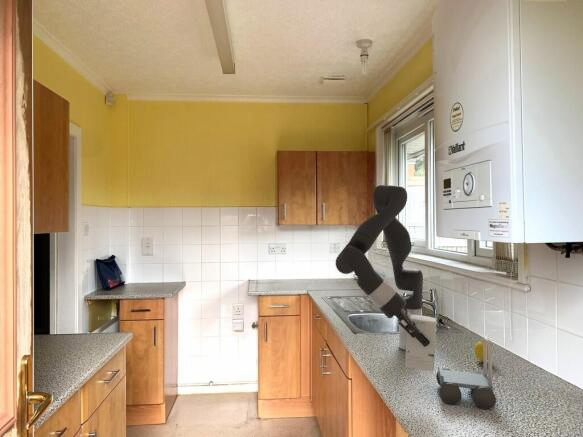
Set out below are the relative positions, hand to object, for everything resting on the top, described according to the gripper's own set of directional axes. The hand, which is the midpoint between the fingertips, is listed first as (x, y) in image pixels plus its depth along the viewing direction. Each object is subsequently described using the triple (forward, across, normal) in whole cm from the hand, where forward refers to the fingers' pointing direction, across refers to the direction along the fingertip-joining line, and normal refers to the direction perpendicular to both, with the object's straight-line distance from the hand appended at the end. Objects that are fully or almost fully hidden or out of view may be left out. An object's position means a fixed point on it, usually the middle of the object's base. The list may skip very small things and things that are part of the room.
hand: (426, 340), depth 112 cm
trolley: (+20, +5, +5) cm, 22 cm away
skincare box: (+4, 0, +7) cm, 8 cm away
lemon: (+28, +37, -3) cm, 47 cm away
